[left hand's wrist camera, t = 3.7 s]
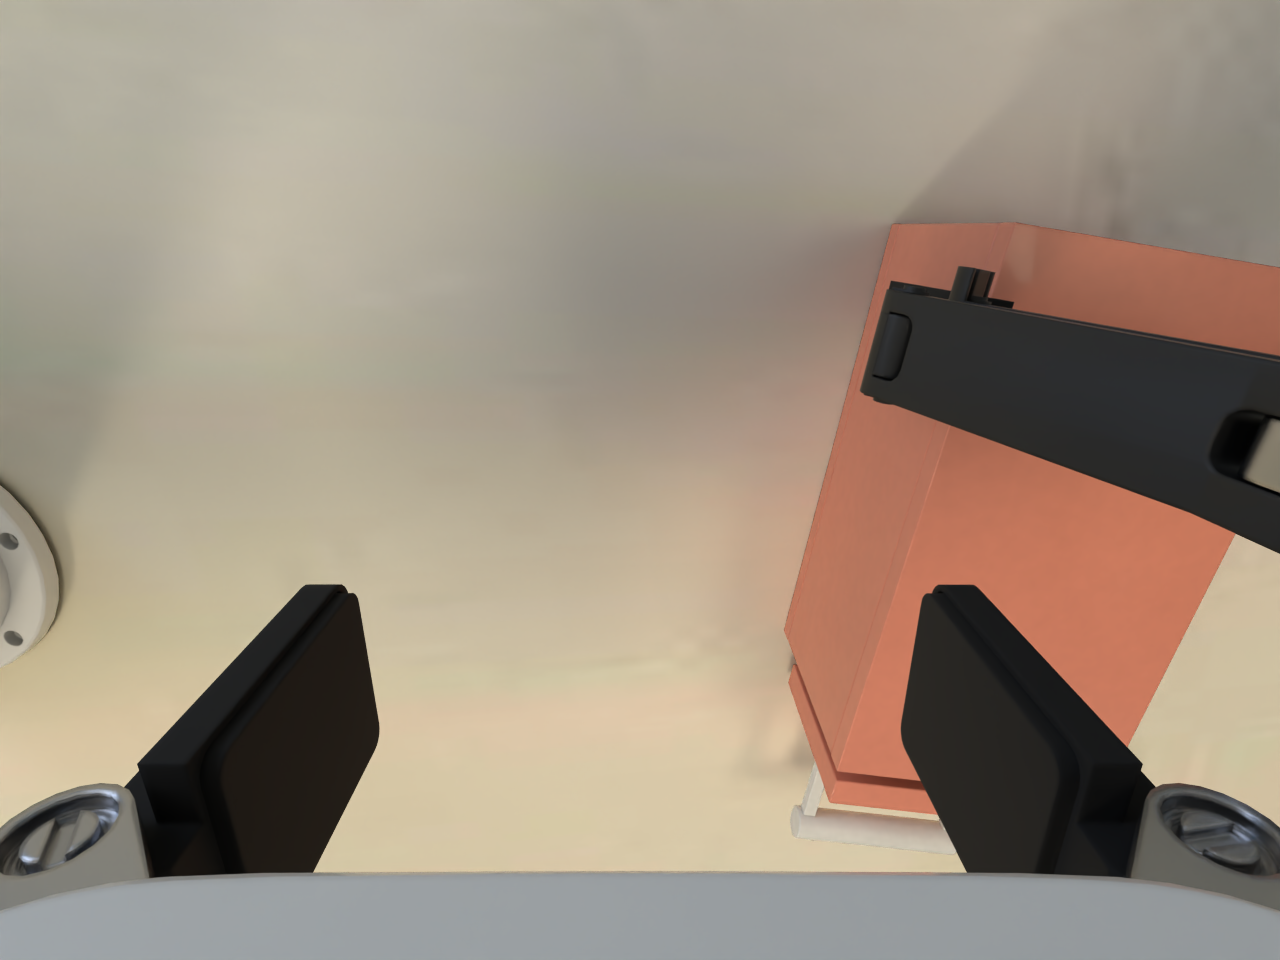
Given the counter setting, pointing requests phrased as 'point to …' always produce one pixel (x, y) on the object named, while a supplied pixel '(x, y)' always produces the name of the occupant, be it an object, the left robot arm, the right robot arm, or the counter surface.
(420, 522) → the counter surface
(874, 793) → the drawer
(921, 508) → the cabinet
